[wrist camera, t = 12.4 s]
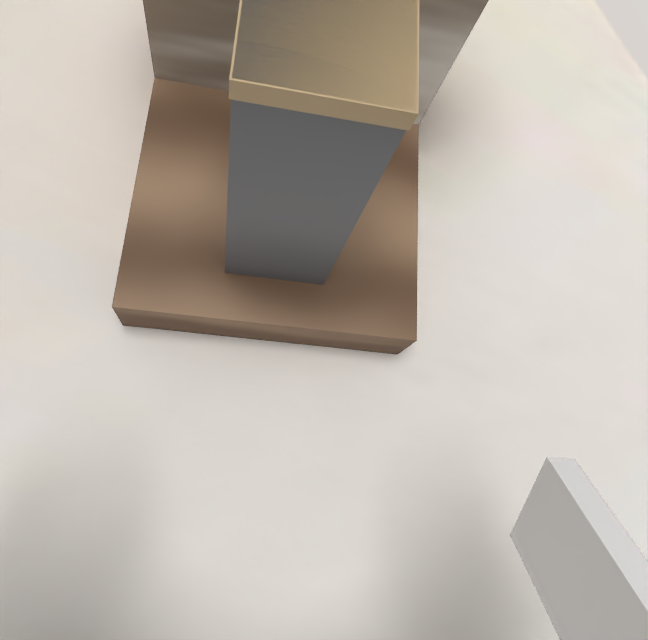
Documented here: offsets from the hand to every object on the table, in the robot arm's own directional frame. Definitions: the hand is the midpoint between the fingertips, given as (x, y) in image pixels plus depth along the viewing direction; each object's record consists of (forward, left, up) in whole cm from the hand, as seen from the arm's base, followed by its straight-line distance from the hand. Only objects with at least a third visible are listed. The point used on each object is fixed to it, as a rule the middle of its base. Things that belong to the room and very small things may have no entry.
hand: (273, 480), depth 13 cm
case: (+10, +3, -7) cm, 13 cm away
